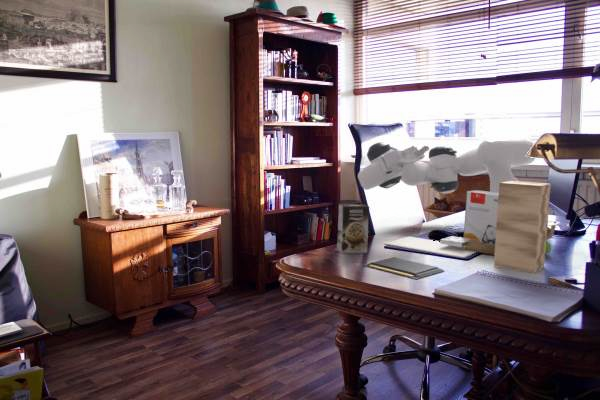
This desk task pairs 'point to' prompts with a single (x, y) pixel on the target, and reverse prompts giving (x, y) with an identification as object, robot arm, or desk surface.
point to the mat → (431, 246)
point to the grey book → (405, 268)
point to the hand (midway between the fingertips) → (421, 147)
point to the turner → (469, 244)
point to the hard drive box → (481, 216)
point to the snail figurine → (549, 235)
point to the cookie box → (353, 228)
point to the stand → (522, 225)
